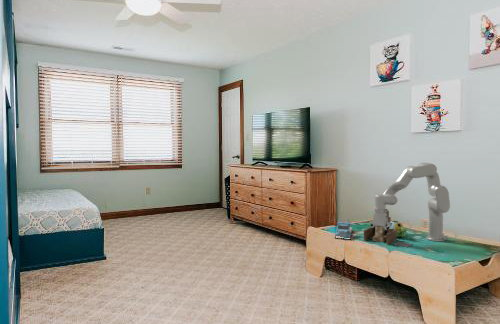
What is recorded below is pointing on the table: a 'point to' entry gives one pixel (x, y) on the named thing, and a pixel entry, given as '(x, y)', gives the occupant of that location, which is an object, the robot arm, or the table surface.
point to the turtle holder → (398, 228)
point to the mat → (402, 244)
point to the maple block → (379, 231)
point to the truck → (343, 229)
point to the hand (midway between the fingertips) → (379, 233)
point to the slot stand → (389, 237)
